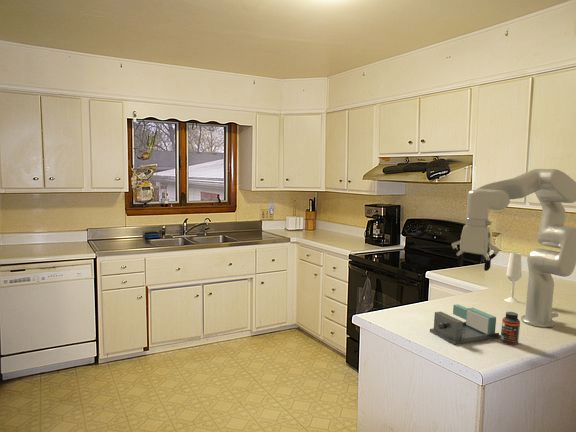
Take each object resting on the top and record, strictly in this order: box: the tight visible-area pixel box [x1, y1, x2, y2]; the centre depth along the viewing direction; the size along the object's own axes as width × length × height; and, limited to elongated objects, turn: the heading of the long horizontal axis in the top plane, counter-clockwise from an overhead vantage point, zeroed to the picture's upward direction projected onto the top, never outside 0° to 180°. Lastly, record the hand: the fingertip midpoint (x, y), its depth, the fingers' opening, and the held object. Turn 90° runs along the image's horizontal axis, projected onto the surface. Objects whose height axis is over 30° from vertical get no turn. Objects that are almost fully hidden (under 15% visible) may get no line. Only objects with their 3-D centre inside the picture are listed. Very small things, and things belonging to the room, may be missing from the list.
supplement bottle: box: [500, 311, 521, 346], centre depth 165 cm, size 6×6×11 cm
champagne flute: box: [504, 251, 523, 304], centre depth 217 cm, size 7×7×24 cm
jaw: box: [452, 303, 497, 334], centre depth 177 cm, size 3×20×7 cm, turn 21°
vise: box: [429, 311, 501, 346], centre depth 171 cm, size 23×14×8 cm, turn 111°
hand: (473, 268), depth 167 cm, fingers open, 9 cm apart
